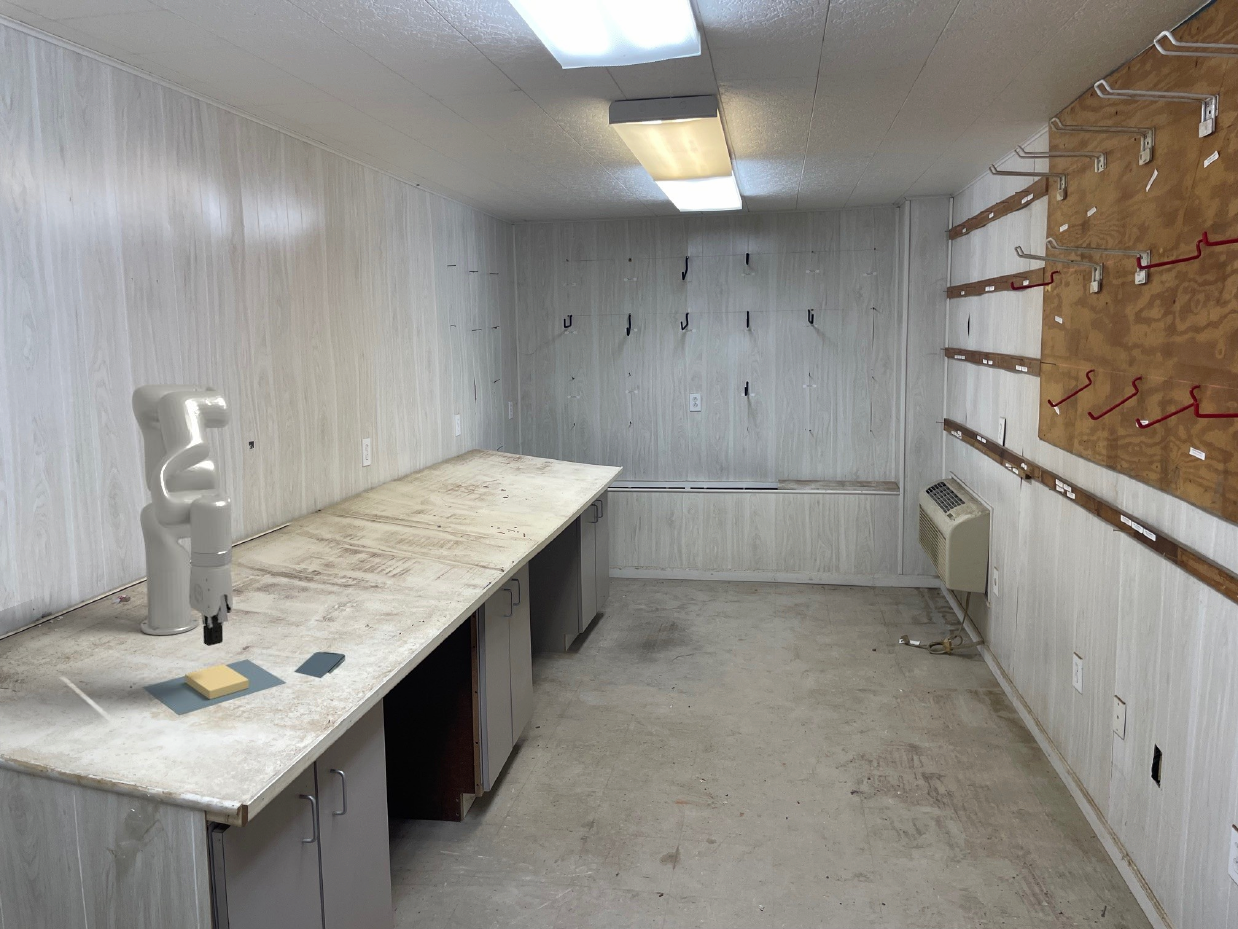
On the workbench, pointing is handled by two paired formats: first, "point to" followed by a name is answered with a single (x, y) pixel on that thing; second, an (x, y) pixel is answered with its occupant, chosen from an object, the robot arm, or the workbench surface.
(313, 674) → the smartphone
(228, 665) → the rubber mat
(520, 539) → the workbench surface
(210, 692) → the beige rectangular block
